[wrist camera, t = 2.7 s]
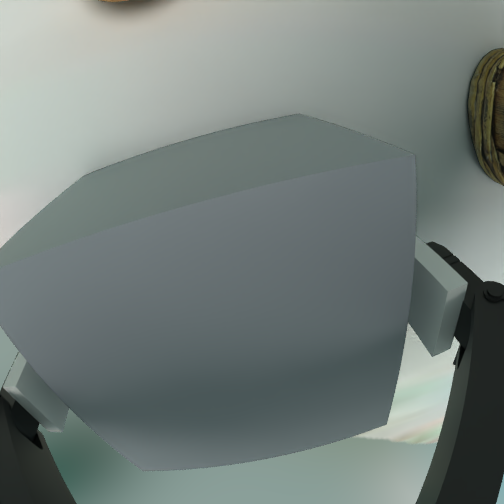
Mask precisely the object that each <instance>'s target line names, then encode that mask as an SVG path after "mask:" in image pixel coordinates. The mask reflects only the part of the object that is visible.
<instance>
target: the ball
mask: <svg viewBox="0 0 504 504" xmlns="http://www.w3.org/2000/svg"><path fill="white" fill-rule="evenodd" d="M100 1H108V2H119V1H127V0H100Z"/></svg>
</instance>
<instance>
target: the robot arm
mask: <svg viewBox="0 0 504 504" xmlns="http://www.w3.org/2000/svg"><path fill="white" fill-rule="evenodd" d="M408 323H409V324H410V325H411V327H412V328H413V330H414V331H415V332H416V334H417V335H418V337H419V338H420V340H421V341H422V343H423V344H424V346H425V347H426V348H427V350H428V351H429V353H430V354H431V356H432V357H433V356H435V355H438V354H440V353H442V352H444V351H446V350H448V349H450V348H451V345H452V341H453V338H454V336H455V338H456V339H457V340H458V341H459V343H460V345H459V348H458V351H457V354H456V357H455V360H454V362H453V365H455V371H454V377H453V382H452V387H451V392H450V397H449V401H448V406H447V410H446V414H445V418H444V422H443V426H442V429H441V433H440V436H439V440H438V443H437V446H436V450H435V453H434V456H433V459H432V462H431V465H430V468H429V471H428V474H427V476H426V479H425V482H424V484H423V487H422V489H421V492H420V494H419V497H418V499H417V502H416V504H496V502H497V498H498V494H499V490H500V487H501V483H502V479H503V474H504V285H502V284H500V283H497V282H494V281H486V282H483V281H482V280H481V279H480V278H479V277H478V276H477V275H476V274H474V273H473V272H472V271H471V270H470V269H469V268H468V267H467V266H466V265H465V264H464V263H462V262H460V260H459V259H458V258H457V257H456V256H453V254H452V253H451V252H450V251H449V250H448V249H446V248H445V247H444V246H442V245H439V244H437V243H435V242H429V243H426V244H425V243H424V242H423V241H422V240H421V239H420V238H419V237H417V236H416V243H415V259H414V272H413V283H412V293H411V302H410V310H409V317H408ZM11 367H12V368H11V369H10V371H9V373H8V375H7V377H6V380H5V382H4V384H3V386H2V388H1V391H0V504H76V502H75V500H74V498H73V497H72V495H71V493H70V491H69V489H68V488H67V485H66V484H65V482H64V480H63V478H62V476H61V474H60V472H59V470H58V468H57V466H56V464H55V461H54V459H53V457H52V455H51V452H50V450H49V448H48V446H47V444H46V441H45V438H44V436H43V435H42V433H41V432H40V431H39V430H38V426H39V423H40V424H41V425H42V426H43V427H44V428H46V429H47V430H48V431H49V432H63V429H64V425H65V421H66V418H67V414H68V410H69V407H68V406H67V405H66V404H65V403H64V402H63V401H62V400H61V399H60V398H59V397H58V396H57V395H56V394H55V393H54V392H53V391H52V390H51V388H50V387H49V386H48V385H47V384H46V383H45V382H44V381H43V380H42V378H41V377H40V376H39V375H38V374H37V373H36V371H35V370H34V369H33V368H32V367H31V365H30V364H29V363H28V362H27V361H26V359H25V358H24V357H23V356H22V354H21V353H20V352H18V354H17V356H16V358H15V361H14V363H13V364H12V366H11Z"/></svg>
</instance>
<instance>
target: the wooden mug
mask: <svg viewBox="0 0 504 504" xmlns="http://www.w3.org/2000/svg"><path fill="white" fill-rule="evenodd" d="M468 110H469V126H470V129H471V135H472V140H473V144H474V147H475V150H476V153H477V157H478V160H479V163H480V165H481V167H482V168H483V170H484V171H485V173H486V174H487V175H488V176H489V177H490V178H491V179H493V180H494V181H495V182H497V183H499V184H501V185H503V186H504V49H503V48H500V49H495V50H492V51H491V52H489V53H488V54H487V55H486V56H484V57H483V59H482V60H481V62H480V63H479V65H478V67H477V69H476V71H475V74H474V76H473V78H472V80H471V85H470V92H469V99H468Z"/></svg>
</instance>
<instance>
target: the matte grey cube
mask: <svg viewBox="0 0 504 504" xmlns="http://www.w3.org/2000/svg"><path fill="white" fill-rule="evenodd" d="M416 213H417V186H416V156H415V154H412V153H410V152H408V151H405V150H403V149H400V148H398V147H395V146H393V145H390V144H388V143H385V142H383V141H380V140H378V139H375V138H372V137H370V136H367V135H364V134H361V133H358V132H356V131H353V130H350V129H347V128H344V127H341V126H338V125H335V124H332V123H329V122H325V121H322V120H319V119H316V118H312V117H309V116H306V115H302V114H295V115H290V116H285V117H280V118H275V119H270V120H265V121H260V122H256V123H251V124H247V125H243V126H238V127H234V128H230V129H226V130H222V131H218V132H214V133H211V134H207V135H203V136H200V137H196V138H193V139H189V140H186V141H182V142H179V143H176V144H172V145H169V146H166V147H163V148H159V149H156V150H153V151H150V152H147V153H144V154H141V155H138V156H135V157H132V158H130V159H127V160H124V161H121V162H118V163H116V164H113V165H110V166H108V167H105V168H102V169H100V170H97V171H95V172H92V173H90V174H87V175H85V176H83V177H82V178H80V179H79V180H78V181H77V182H75V183H74V184H73V185H71V186H70V187H69V188H68V189H66V190H65V191H64V192H63V193H61V194H60V195H59V196H58V197H56V198H55V199H54V200H53V201H52V202H50V203H49V204H48V205H47V206H46V207H45V208H43V209H42V210H41V211H40V212H39V213H38V214H37V215H35V216H34V217H33V218H32V219H31V220H30V221H29V222H28V223H26V224H25V225H24V226H23V227H22V228H21V229H20V230H19V231H18V232H17V233H16V234H15V235H14V236H13V237H12V238H10V239H9V240H8V241H7V242H6V243H5V244H4V245H3V246H2V247H1V248H0V326H1V327H2V329H3V330H4V332H5V333H6V334H7V336H8V337H9V339H10V340H11V341H12V343H13V344H14V345H15V347H16V348H17V349H18V350H19V352H20V353H21V354H22V356H23V357H24V358H25V359H26V361H27V362H28V363H29V364H30V365H31V367H32V368H33V369H34V370H35V371H36V373H37V374H38V375H39V376H40V377H41V378H42V380H43V381H44V382H45V383H46V384H47V385H48V386H49V387H50V388H51V390H52V391H53V392H54V393H55V394H56V395H57V396H58V397H59V398H60V399H61V400H62V401H63V402H64V403H65V404H66V405H67V406H68V407H69V408H70V409H71V410H72V411H73V412H74V413H75V414H76V415H77V416H78V417H79V418H80V419H81V420H82V421H83V422H84V423H85V424H86V425H87V426H89V427H90V428H91V429H92V430H93V431H94V432H95V433H96V434H97V435H98V436H100V437H101V438H102V439H103V440H104V441H105V442H107V443H108V444H109V445H110V446H111V447H113V448H114V449H115V450H116V451H117V452H119V453H120V454H121V455H122V456H124V457H125V458H126V459H128V460H129V461H130V462H131V463H133V464H134V465H135V466H137V467H138V468H139V469H141V470H142V471H169V470H186V469H197V468H208V467H217V466H224V465H232V464H239V463H245V462H251V461H257V460H262V459H268V458H273V457H278V456H282V455H287V454H291V453H295V452H299V451H304V450H307V449H312V448H315V447H319V446H322V445H326V444H330V443H333V442H336V441H340V440H343V439H346V438H349V437H352V436H355V435H358V434H361V433H364V432H367V431H370V430H373V429H375V428H378V427H381V426H383V425H386V424H387V421H388V417H389V413H390V410H391V406H392V402H393V397H394V393H395V389H396V384H397V380H398V375H399V370H400V365H401V360H402V355H403V349H404V343H405V337H406V331H407V324H408V317H409V310H410V302H411V293H412V283H413V272H414V259H415V243H416Z"/></svg>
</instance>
